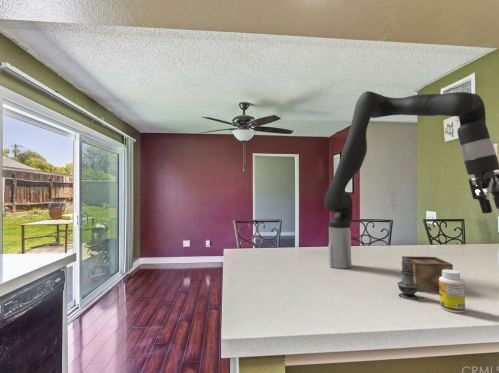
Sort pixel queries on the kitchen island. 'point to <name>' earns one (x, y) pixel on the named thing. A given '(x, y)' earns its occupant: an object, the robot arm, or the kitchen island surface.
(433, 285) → the stand
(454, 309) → the supplement bottle
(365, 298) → the kitchen island surface
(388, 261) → the kitchen island surface
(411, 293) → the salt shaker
